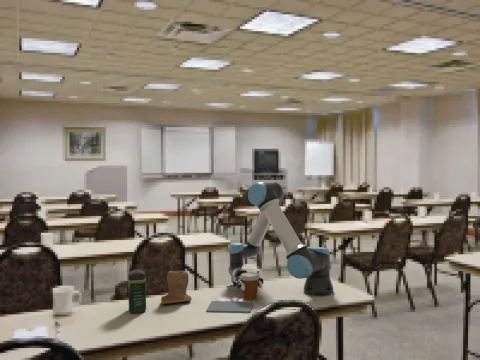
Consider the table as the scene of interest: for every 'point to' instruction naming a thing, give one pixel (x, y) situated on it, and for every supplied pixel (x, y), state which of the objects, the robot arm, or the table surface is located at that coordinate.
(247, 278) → the disposable coffee cup
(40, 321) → the table surface
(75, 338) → the table surface
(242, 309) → the rubber mat
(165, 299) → the tan ankle boots
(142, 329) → the table surface
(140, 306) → the coffee jar
